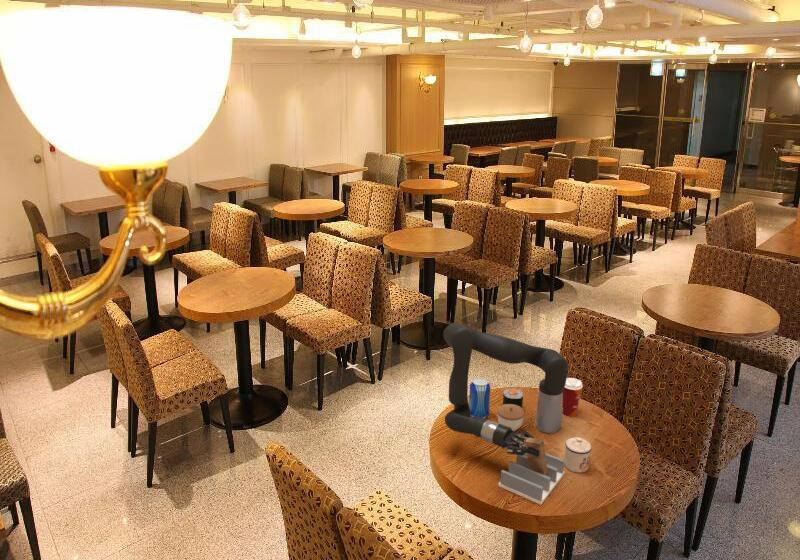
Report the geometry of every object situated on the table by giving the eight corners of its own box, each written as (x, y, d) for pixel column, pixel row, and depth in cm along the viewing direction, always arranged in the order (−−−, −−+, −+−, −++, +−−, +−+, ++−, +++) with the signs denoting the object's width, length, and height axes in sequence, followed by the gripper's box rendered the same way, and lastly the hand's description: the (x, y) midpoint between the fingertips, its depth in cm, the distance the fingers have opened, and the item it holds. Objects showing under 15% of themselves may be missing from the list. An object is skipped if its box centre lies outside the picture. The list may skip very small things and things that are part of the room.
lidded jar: (521, 437, 233) (523, 416, 230) (494, 432, 236) (495, 411, 233) (524, 422, 242) (526, 402, 239) (498, 418, 246) (500, 398, 242)
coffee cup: (580, 419, 244) (583, 387, 239) (559, 417, 246) (563, 385, 241) (578, 408, 252) (582, 377, 247) (558, 406, 254) (561, 376, 249)
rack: (498, 485, 205) (499, 471, 203) (523, 457, 220) (524, 444, 218) (541, 505, 196) (542, 490, 194) (564, 474, 211) (566, 460, 209)
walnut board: (529, 472, 206) (524, 441, 204) (533, 468, 208) (528, 437, 206) (544, 475, 202) (539, 443, 200) (547, 471, 205) (543, 439, 202)
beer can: (489, 420, 244) (491, 386, 238) (469, 420, 244) (471, 386, 239) (487, 409, 252) (489, 376, 246) (467, 409, 252) (469, 376, 246)
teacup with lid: (582, 476, 210) (586, 449, 206) (559, 466, 215) (561, 439, 211) (596, 460, 218) (599, 434, 214) (573, 451, 224) (576, 425, 220)
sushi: (500, 403, 256) (501, 387, 254) (519, 402, 257) (520, 386, 254) (504, 413, 249) (505, 397, 246) (524, 412, 249) (525, 396, 247)
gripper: (487, 433, 206) (533, 452, 196) (506, 416, 216) (550, 432, 206) (486, 451, 208) (531, 470, 198) (504, 433, 219) (548, 450, 209)
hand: (540, 451), depth 202 cm, fingers closed on walnut board, 2 cm apart
